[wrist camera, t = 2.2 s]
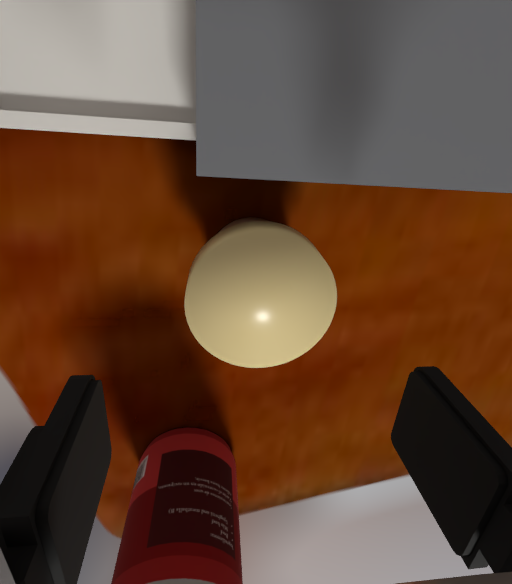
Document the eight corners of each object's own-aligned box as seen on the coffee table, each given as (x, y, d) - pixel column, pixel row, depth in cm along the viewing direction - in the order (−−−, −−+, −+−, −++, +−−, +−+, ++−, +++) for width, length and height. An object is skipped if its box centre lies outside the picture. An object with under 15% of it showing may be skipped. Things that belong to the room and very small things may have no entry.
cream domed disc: (345, 312, 19) (357, 330, 18) (229, 366, 20) (230, 388, 19) (293, 193, 16) (302, 202, 15) (159, 262, 17) (153, 278, 16)
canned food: (161, 501, 31) (135, 678, 22) (123, 438, 28) (72, 616, 18) (246, 479, 31) (260, 647, 21) (219, 413, 28) (221, 579, 18)
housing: (534, -143, 16) (692, -271, 10) (444, 173, 21) (518, 193, 16) (202, -200, 14) (194, -385, 9) (202, 159, 20) (196, 175, 14)
